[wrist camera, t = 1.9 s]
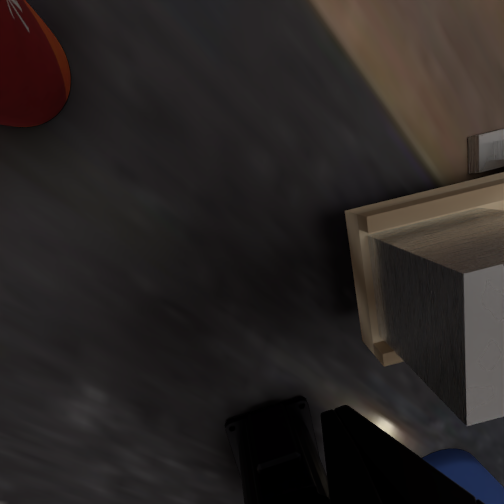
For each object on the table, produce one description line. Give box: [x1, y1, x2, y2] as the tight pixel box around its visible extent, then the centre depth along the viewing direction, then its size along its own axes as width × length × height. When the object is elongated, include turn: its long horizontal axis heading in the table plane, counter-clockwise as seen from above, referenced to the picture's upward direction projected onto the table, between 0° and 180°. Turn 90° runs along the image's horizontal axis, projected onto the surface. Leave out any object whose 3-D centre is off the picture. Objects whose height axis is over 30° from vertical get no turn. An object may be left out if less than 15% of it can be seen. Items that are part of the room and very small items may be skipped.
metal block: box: [367, 208, 504, 426], centre depth 12 cm, size 6×6×6 cm
